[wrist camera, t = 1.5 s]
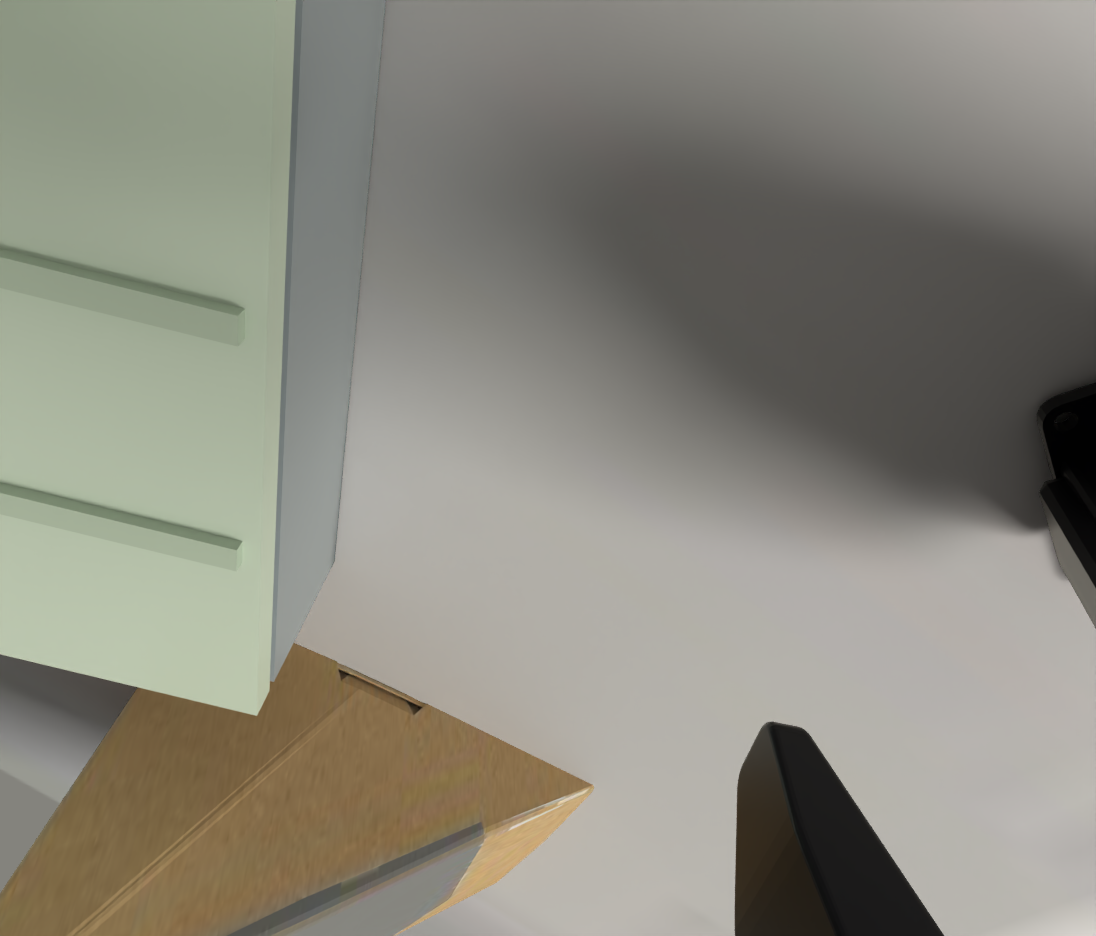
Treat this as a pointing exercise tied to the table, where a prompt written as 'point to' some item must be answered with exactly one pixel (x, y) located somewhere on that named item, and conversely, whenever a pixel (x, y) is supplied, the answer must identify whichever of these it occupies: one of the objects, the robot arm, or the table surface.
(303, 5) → the tub
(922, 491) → the table surface
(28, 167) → the lid
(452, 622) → the table surface
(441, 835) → the sandwich container
